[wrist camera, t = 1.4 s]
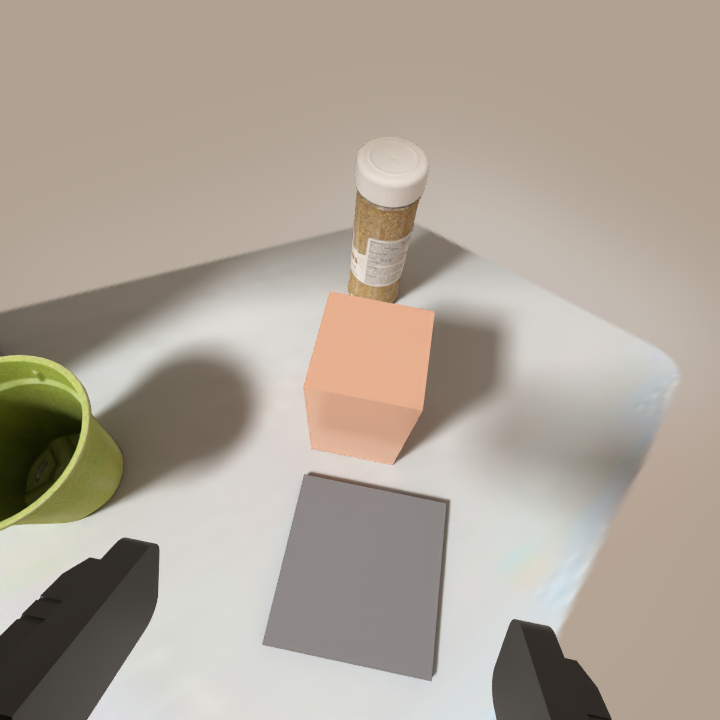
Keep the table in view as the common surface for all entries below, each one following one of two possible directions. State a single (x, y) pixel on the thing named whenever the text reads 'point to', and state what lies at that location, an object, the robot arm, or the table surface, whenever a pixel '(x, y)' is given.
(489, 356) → the table surface
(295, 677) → the table surface
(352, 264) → the spice jar
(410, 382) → the tall peach pillar
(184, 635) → the table surface
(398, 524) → the gray mat
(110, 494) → the plant pot
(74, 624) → the robot arm
